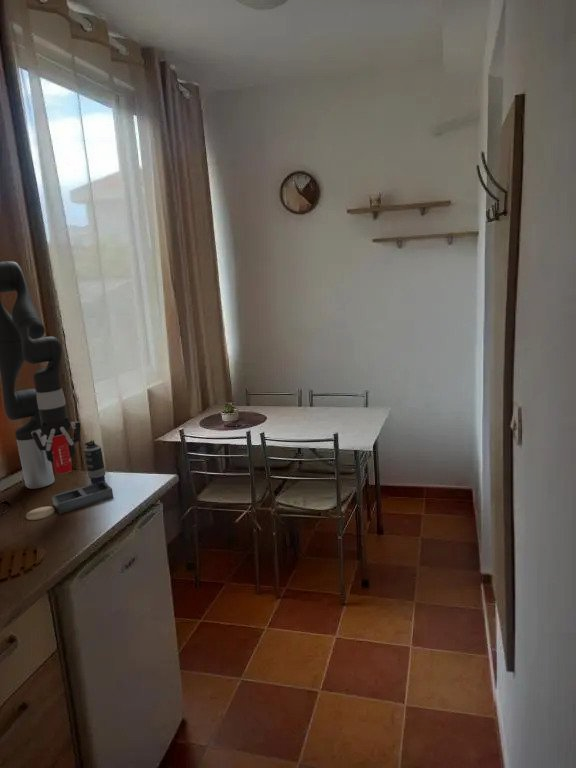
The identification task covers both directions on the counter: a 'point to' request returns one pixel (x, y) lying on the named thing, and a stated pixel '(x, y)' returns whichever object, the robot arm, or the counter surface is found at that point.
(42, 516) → the coaster
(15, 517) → the counter surface
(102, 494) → the rack frame
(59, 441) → the beverage can
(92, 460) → the grenade
